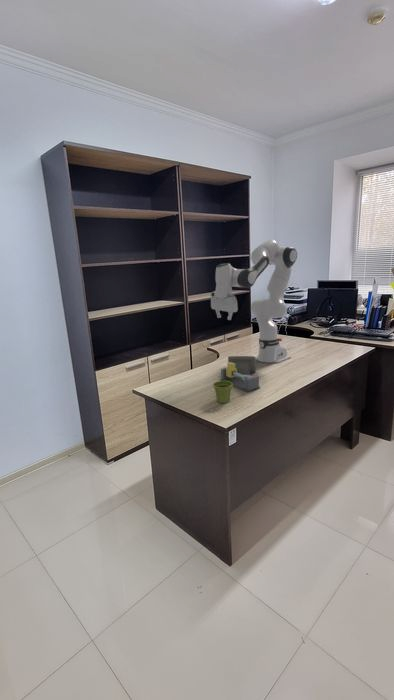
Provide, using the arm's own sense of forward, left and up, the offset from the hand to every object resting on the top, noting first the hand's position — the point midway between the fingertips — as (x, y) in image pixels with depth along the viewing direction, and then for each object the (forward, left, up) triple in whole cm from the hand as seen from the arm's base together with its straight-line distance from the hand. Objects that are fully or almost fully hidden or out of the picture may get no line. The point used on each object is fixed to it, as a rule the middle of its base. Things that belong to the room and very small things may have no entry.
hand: (224, 318), depth 194 cm
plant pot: (+24, +29, -33) cm, 50 cm away
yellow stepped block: (+4, +10, -30) cm, 32 cm away
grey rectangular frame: (+4, +17, -33) cm, 37 cm away
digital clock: (-9, +4, -34) cm, 35 cm away
